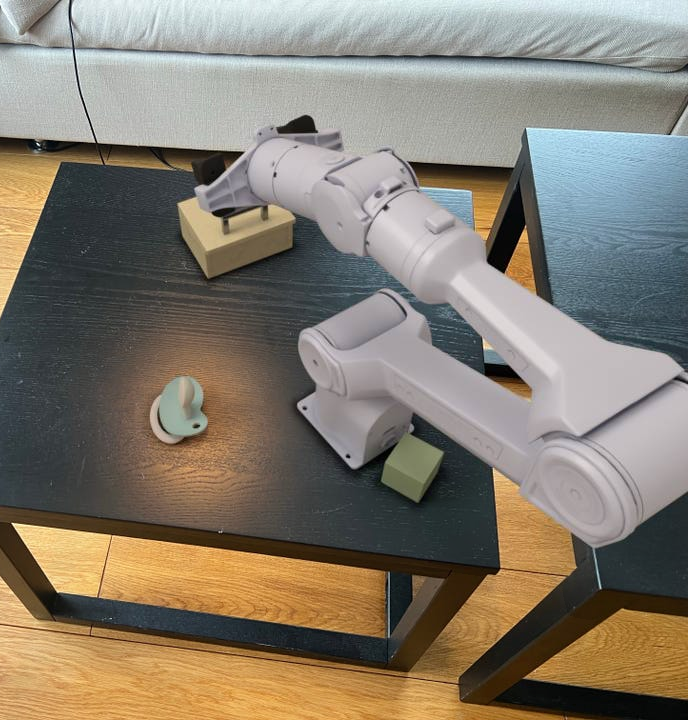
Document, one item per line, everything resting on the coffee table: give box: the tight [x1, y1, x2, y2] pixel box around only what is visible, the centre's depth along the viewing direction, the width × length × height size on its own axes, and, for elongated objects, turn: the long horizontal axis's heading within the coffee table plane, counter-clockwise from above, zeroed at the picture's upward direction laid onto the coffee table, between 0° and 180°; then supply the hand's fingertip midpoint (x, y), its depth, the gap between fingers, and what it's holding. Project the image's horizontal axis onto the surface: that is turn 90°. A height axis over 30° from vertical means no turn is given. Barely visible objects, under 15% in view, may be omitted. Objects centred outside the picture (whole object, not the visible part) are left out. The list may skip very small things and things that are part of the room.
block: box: [380, 432, 445, 504], centre depth 72 cm, size 4×4×4 cm
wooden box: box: [177, 207, 294, 279], centre depth 93 cm, size 8×11×5 cm
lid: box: [177, 196, 297, 255], centre depth 89 cm, size 9×11×4 cm
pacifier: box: [149, 375, 208, 445], centre depth 77 cm, size 7×6×6 cm
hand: (230, 155), depth 75 cm, fingers open, 7 cm apart
